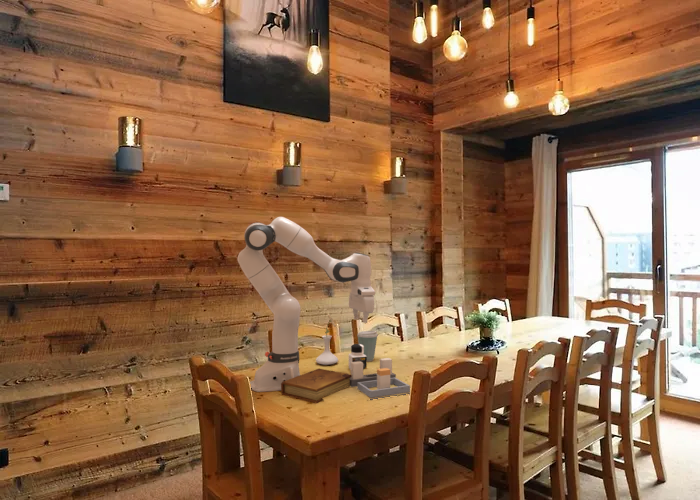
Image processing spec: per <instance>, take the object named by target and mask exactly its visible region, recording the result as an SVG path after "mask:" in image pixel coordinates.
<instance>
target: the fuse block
mask: <svg viewBox="0 0 700 500" xmlns="http://www.w3.org/2000/svg"><path fill="white" fill-rule="evenodd" d="M390 378H397V375H396V374H395V373H394V372H392V374H390ZM372 380H377V372H376V373H368V374H363V378H359V379H352V378H351V377H350V386H349V387H350V388H353V387H355V388H357V382H365V381H372Z"/></svg>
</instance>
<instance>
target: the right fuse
mask: <svg viewBox="0 0 700 500" xmlns="http://www.w3.org/2000/svg"><path fill="white" fill-rule="evenodd" d="M382 368H388V369H390V374H392V373H393V359H392V358H390V357H385V358H379V369H382Z"/></svg>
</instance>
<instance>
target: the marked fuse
mask: <svg viewBox="0 0 700 500" xmlns="http://www.w3.org/2000/svg"><path fill="white" fill-rule="evenodd" d="M376 373H377V387H376V390H378V389H385V388H391V385H390V369H388V368H382V369H380V368H377V369H376Z"/></svg>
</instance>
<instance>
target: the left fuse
mask: <svg viewBox="0 0 700 500" xmlns="http://www.w3.org/2000/svg"><path fill="white" fill-rule="evenodd" d="M350 375H352V377H351V378H352V379H359V378H363V375H364V369H363V362H361V361H358V362H351V370H350Z"/></svg>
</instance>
